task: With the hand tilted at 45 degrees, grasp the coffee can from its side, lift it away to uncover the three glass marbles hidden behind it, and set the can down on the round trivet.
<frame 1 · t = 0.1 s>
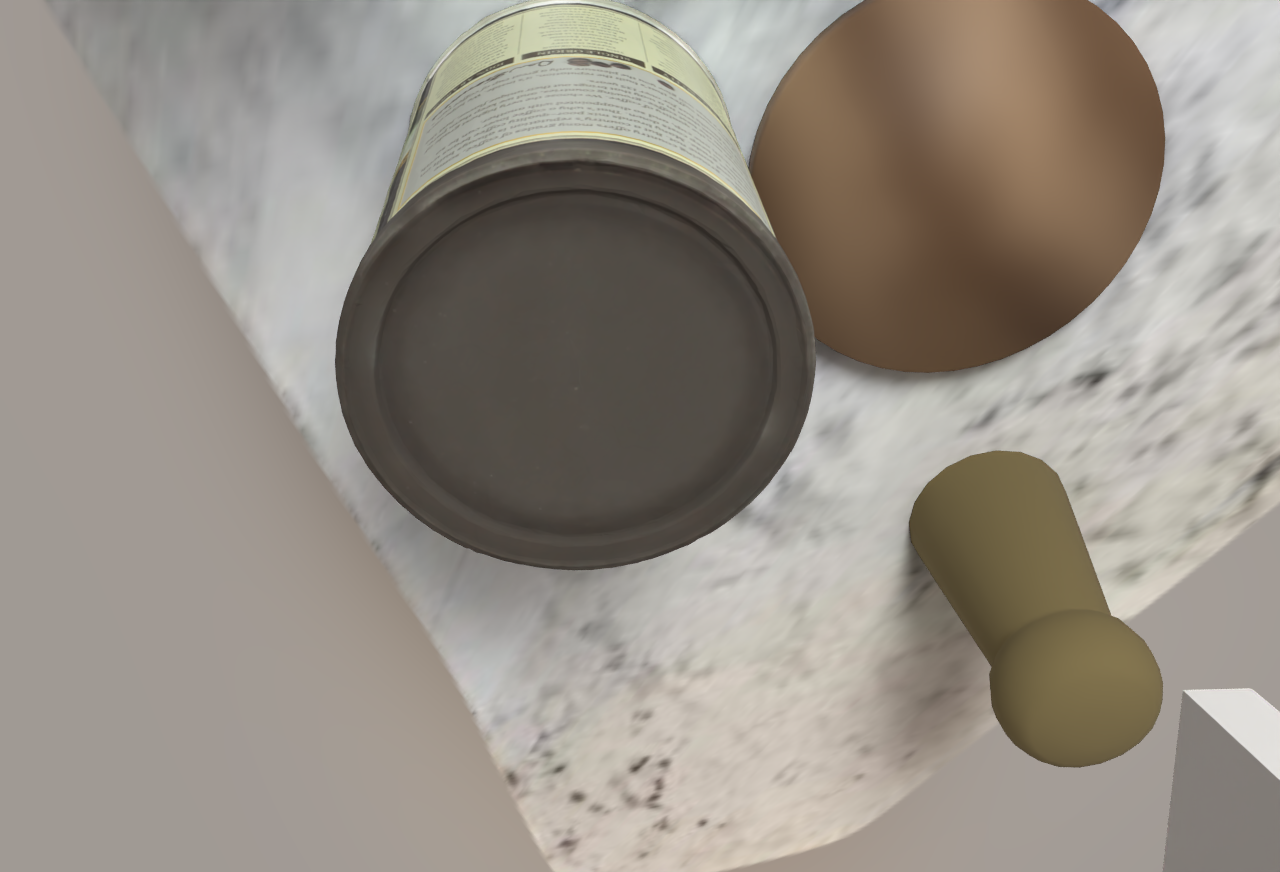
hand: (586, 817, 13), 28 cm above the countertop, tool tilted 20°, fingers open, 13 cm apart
cork: (986, 513, 46), on the countertop
trivet: (948, 180, 39), on the countertop
coffee can: (572, 159, 38), on the countertop
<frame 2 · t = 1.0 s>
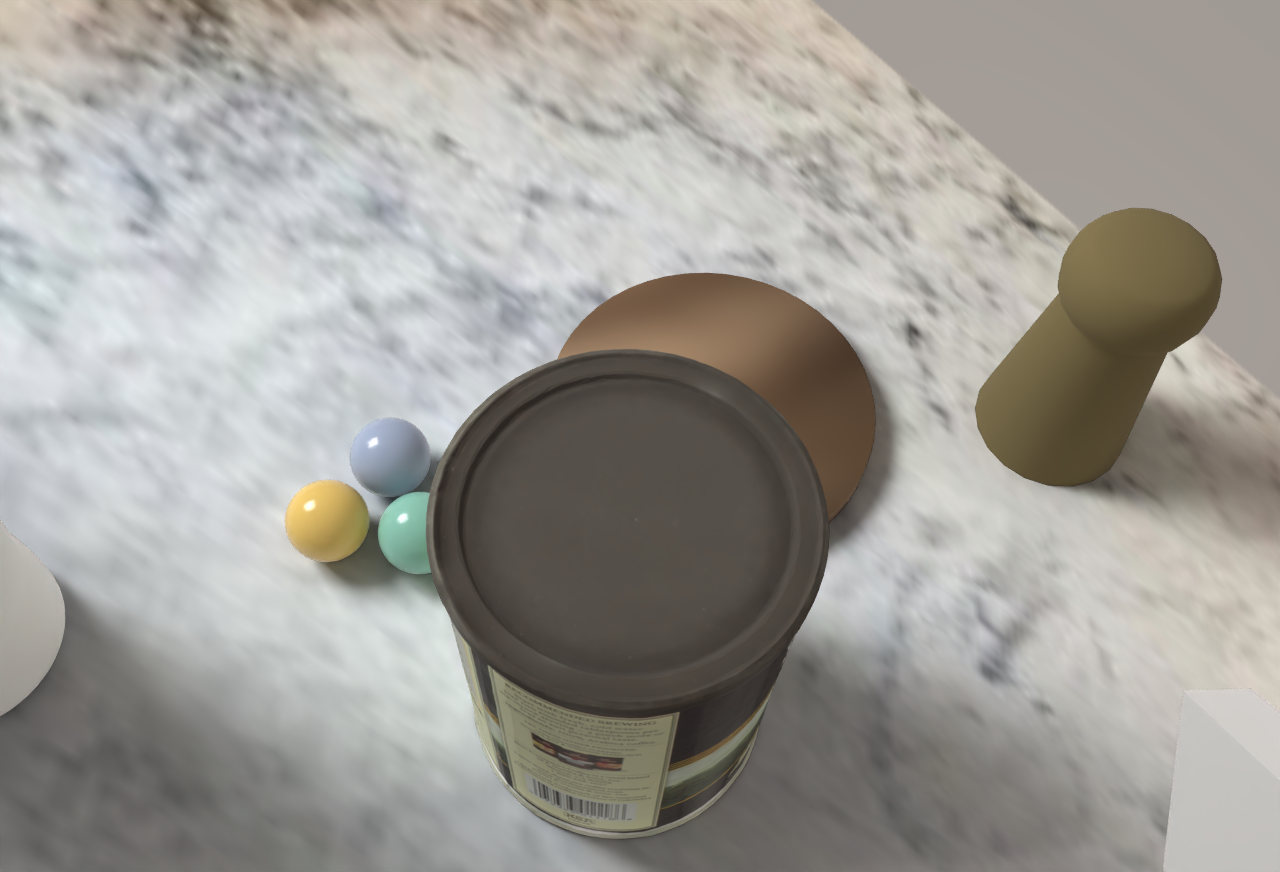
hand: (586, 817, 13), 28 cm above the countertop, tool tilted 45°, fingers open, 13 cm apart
marble green: (424, 550, 45), on the countertop
cork: (1047, 423, 50), on the countertop
trivet: (709, 416, 49), on the countertop
coffee can: (616, 692, 43), on the countertop
marble blue: (395, 476, 47), on the countertop
marble amber: (334, 538, 46), on the countertop
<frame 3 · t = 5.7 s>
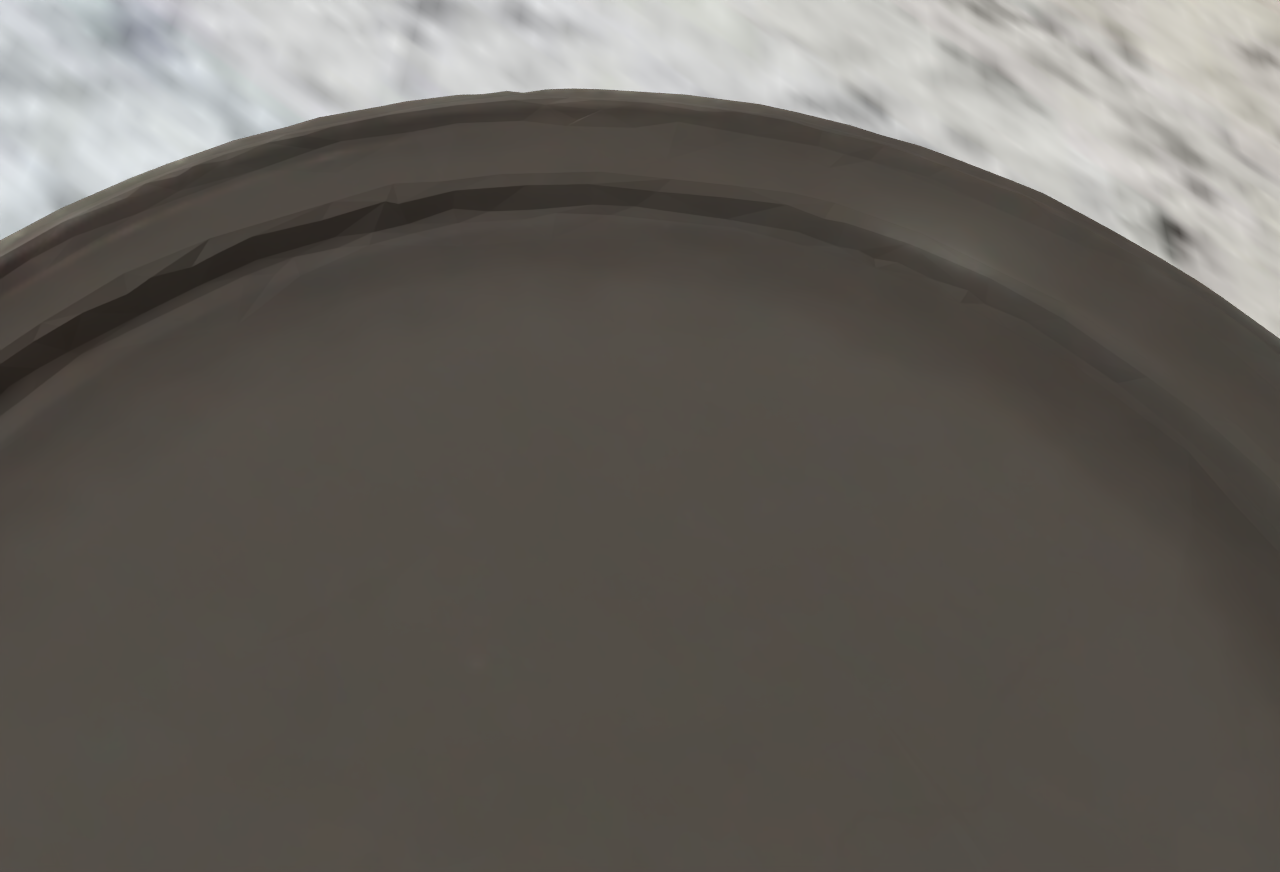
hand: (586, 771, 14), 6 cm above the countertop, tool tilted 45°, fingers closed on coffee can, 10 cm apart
when the fingers open (8 cm above the countertop, at t = 11.0 s): coffee can drops 1 cm, resting on trivet.
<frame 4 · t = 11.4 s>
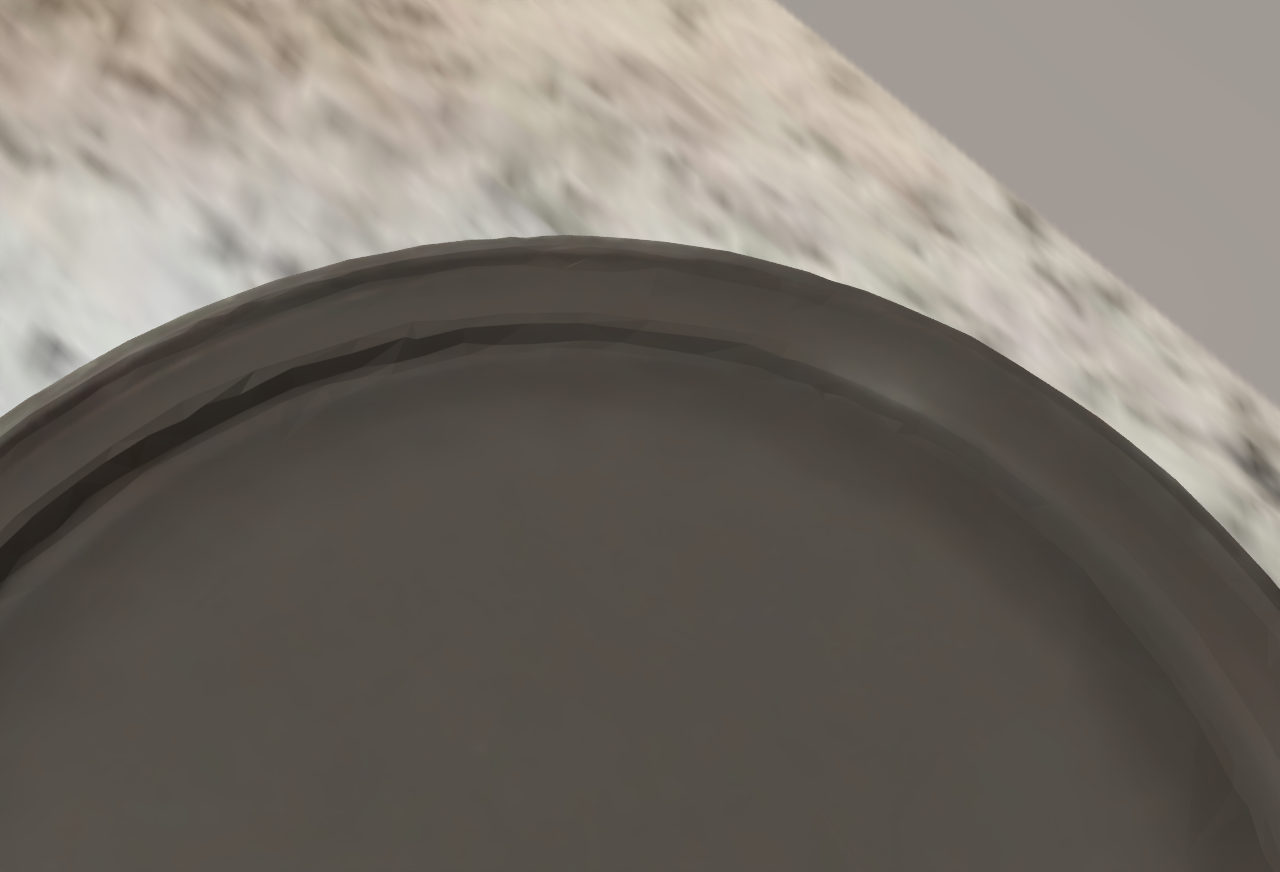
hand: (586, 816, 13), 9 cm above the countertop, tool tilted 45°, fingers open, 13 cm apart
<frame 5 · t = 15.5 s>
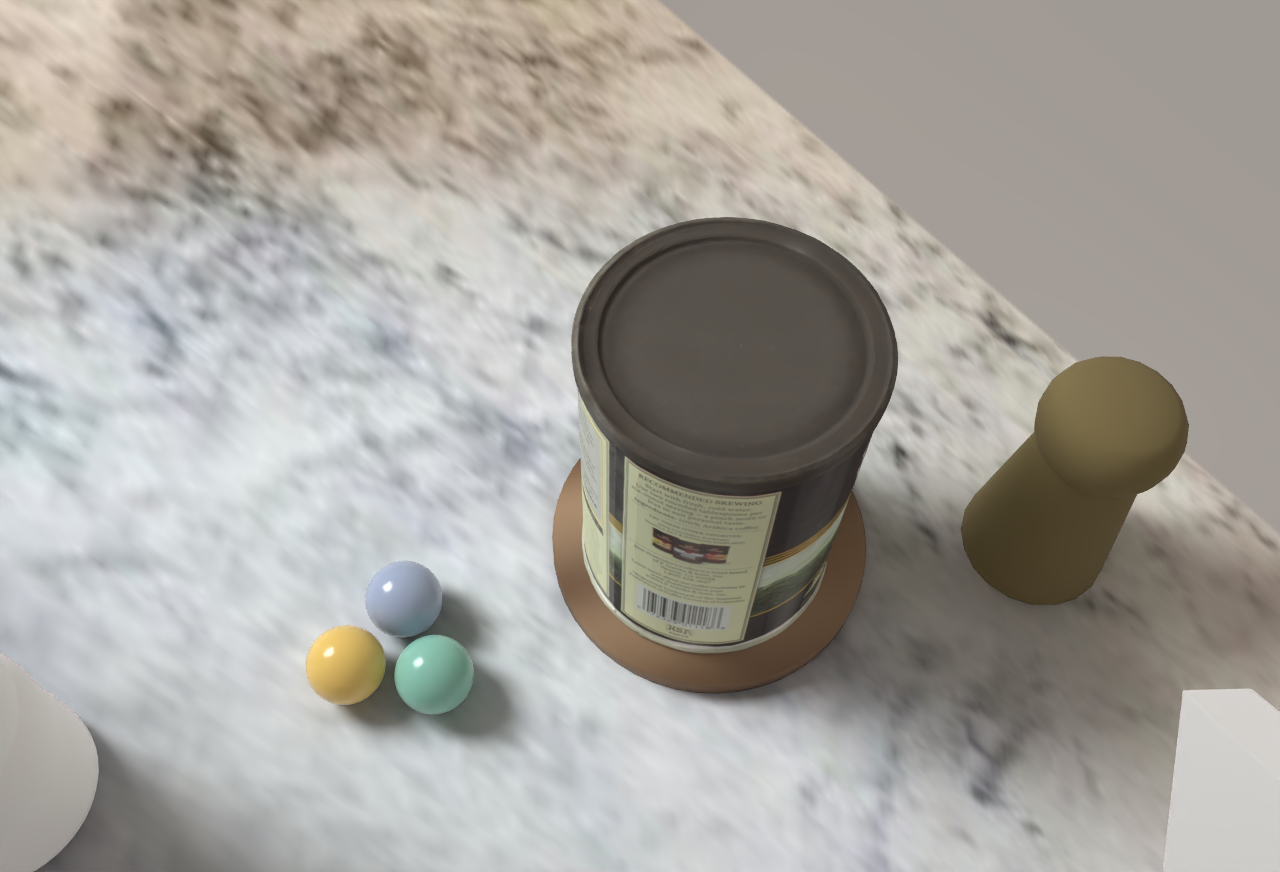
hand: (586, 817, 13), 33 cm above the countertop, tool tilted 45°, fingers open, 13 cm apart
marble green: (438, 687, 48), on the countertop
cork: (1030, 541, 52), on the countertop
trivet: (707, 544, 51), on the countertop
coffee can: (702, 539, 50), point 1 cm above the countertop, touching trivet
water bottle: (9, 794, 45), on the countertop
marble blue: (409, 613, 49), on the countertop
marble amber: (352, 678, 48), on the countertop
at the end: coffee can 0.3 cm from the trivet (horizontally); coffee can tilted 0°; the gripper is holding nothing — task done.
